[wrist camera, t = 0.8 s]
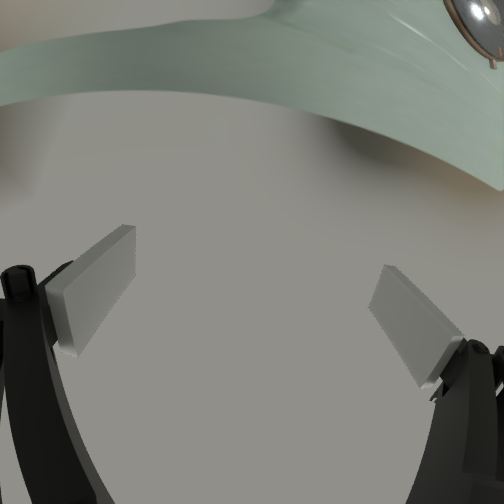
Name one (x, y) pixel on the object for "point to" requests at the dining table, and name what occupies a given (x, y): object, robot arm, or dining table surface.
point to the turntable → (483, 23)
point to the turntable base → (467, 36)
